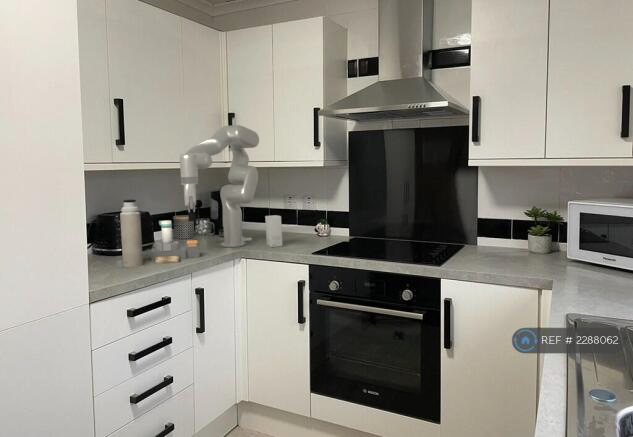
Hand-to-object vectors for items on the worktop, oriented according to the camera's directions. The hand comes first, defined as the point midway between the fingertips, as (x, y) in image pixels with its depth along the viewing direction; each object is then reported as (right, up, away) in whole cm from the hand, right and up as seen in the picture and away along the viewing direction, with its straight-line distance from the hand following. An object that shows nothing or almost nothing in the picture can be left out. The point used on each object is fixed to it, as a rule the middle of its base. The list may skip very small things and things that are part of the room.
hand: (192, 220), depth 233 cm
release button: (0, -16, +1) cm, 16 cm away
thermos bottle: (-21, -19, -17) cm, 33 cm away
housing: (-7, -17, -1) cm, 18 cm away
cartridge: (-11, -13, -2) cm, 17 cm away
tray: (-9, -18, -10) cm, 22 cm away
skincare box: (+35, -13, +27) cm, 47 cm away
